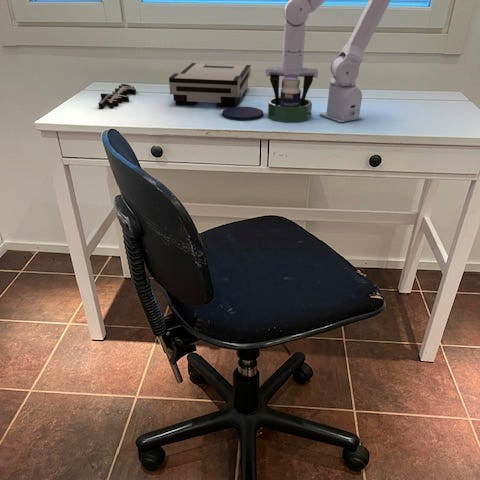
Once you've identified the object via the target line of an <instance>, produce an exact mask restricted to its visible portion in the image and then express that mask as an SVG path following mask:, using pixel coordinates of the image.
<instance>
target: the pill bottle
mask: <svg viewBox="0 0 480 480" xmlns="http://www.w3.org/2000/svg"><path fill="white" fill-rule="evenodd" d="M283 78H284V77H283ZM283 78H282V80H283V84H284V87H282V86H281V89H280V95H279V97H280V106H285V107H299V106H300V98H301V96H302V93H301V92H302V91H301V88H300V83H301V79H300V78H298V77H297V78H298V79H297V78H284V79H283Z"/></svg>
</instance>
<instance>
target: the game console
mask: <svg viewBox="0 0 480 480" xmlns="http://www.w3.org/2000/svg"><path fill="white" fill-rule="evenodd" d="M251 71H252V65H251V64H235V65H234V66H228V65H227V66H223V65H208V63H206V62H205V63H204V62H201V63H200V62H191V63H190V64H189V65H188V66H187V67H185V68H184V69H183V70H182V71H181V72H179V73H177V72H176V73H175V72H174V73H173V74H171V76H169V77H168V84H169V94H170V95H172V96H173V97H172V98H173V102H175V106H180V107H181V106H183V107H195V106H196V105H197V104H198V103H215V104H216V108H221V109H222V108H223V109H224V108H225V109H227V108H231V107H239V104H240V102H241V100H242V99H243V96H244V95H245V94H246V92H247V88H248V87H249V79H250V78H251V76H252V75H251Z"/></svg>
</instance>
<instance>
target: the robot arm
mask: <svg viewBox="0 0 480 480" xmlns="http://www.w3.org/2000/svg"><path fill="white" fill-rule="evenodd" d="M326 1H327V0H288V1H287V2H286V3H285V6H284V9H283V16H284V19H285V20H284V31H283V38H282V39H283V41H282V58H281V59H282V61H281V66H273V67H272V66H271V67H270V66H268V67H266V68H265V77H269V81H270V84H271V87H272V90H273V93H274V98H275V99H276V104H278V103H279V97H280V77H285V76H292V77H297V78H303V86H302V93H301V98H302V101H301V105H304V101H305V99H306V97H307V94H308V92H309V89H310V87H311V85H312V84H313V81H314V79H318V78H319V68H311V67H309V68H308V67H304V66H303V65H304V53H305V41H306V31H305V30H306V22H307V20H308V18H309V14H310V13H311V14H312V13H313V12H315V11H316V10H317V9H318V8H319V7H320V6H321V5H323V4H324V3H325V2H326ZM391 1H392V0H368V1H367V3H366V5H365V8H364V9H363V11H362V14H361V15H360V17H359V19H358V21H357V23H356V25H355V27H354V29H353V31H352V33H351V35H350V37H349V39H348V41H347V43H346V44H345V45H344V46H343V47H342V49H341V51H340V52H339V54H338V55H336V56H335V57H334V58H333V60H332V61H331V63H330V73H331V75H332V77H331V79H330V80H329V87H328V96H327V105H326V111H325V112H320V113H319V115H320V116H321V117H325V118H327V119H330V120H333V121H335V122H338V123H345V122H350V121H356V120H361V119H362V116H361V115H360V114H361V108H362V107H361V106H362V100H363V93H362V90H361V89H359V88H358V87H357V85H356V83H357V81H356V80H357V79H358V76H359V72H360V67H361V64H362V63H363V59H364V54H365V53H364V52H365V50H366V49H367V46H368V44H369V43H370V41H371V38H372V37H373V35H374V34H375V32H376V30H377V27H378V25H379V24H380V22H381V20H382V18H383V16H384V14H385V12H386V11H387V9H388V6H389V5H390V3H391Z"/></svg>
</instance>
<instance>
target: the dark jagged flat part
mask: <svg viewBox="0 0 480 480" xmlns="http://www.w3.org/2000/svg"><path fill="white" fill-rule="evenodd" d="M128 95H137V89H136V88H135V87H134V85H131V84H130V83H129V84H128V83H121V84H120V85H118V87H116V88H114V90H113V91H112V92H111V93H100V99H101V100H100V101H99V102H98V103H97V104H98V109H99V110H104V109H105V108H106V106H107V107H109V109H114V107H119V106H120V105H119V104H123V103H129V102H130V97H129V96H128Z"/></svg>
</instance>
